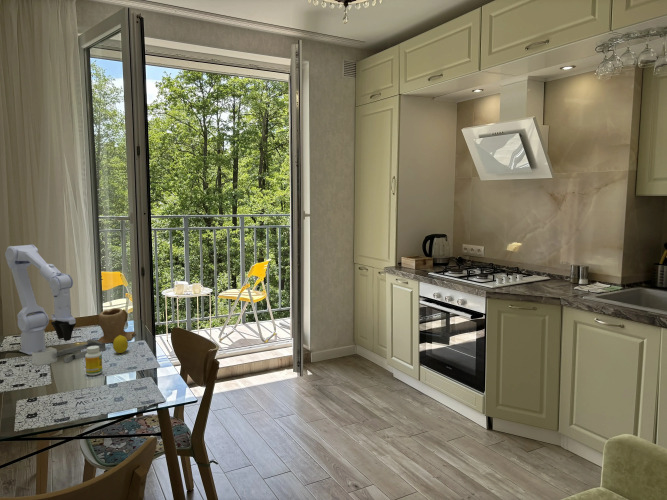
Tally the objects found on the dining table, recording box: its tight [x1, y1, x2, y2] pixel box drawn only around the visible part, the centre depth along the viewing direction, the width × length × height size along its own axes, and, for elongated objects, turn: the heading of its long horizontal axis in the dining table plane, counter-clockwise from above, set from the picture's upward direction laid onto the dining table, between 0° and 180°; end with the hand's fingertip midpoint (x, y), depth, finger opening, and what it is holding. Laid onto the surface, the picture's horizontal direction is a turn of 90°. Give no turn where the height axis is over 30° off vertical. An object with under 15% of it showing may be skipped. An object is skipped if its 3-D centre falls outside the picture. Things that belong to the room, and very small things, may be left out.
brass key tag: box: [74, 341, 87, 347], centre depth 206 cm, size 6×3×2 cm, turn 76°
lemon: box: [112, 335, 129, 354], centre depth 195 cm, size 6×6×8 cm
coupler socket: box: [57, 339, 107, 364], centre depth 195 cm, size 13×17×4 cm
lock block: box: [31, 346, 58, 367], centre depth 185 cm, size 4×7×5 cm, turn 147°
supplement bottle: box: [84, 346, 103, 376], centre depth 173 cm, size 5×5×10 cm
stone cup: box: [97, 307, 136, 345], centre depth 211 cm, size 15×12×15 cm
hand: (64, 339), depth 190 cm, fingers open, 4 cm apart
